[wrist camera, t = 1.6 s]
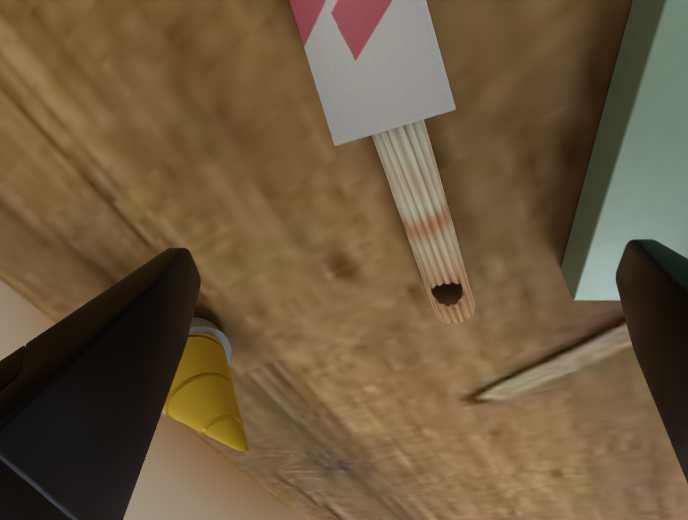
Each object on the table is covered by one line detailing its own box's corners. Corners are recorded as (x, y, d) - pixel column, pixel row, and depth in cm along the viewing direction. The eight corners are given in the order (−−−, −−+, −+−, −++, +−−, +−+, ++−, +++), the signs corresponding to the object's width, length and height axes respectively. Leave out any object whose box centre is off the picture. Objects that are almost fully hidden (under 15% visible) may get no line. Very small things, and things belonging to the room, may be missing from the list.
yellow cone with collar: (138, 280, 24) (234, 393, 18) (216, 306, 28) (317, 405, 22) (85, 367, 24) (162, 511, 18) (171, 380, 28) (258, 501, 22)
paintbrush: (341, -447, 7) (500, 326, 20) (352, -387, 9) (490, 281, 22) (143, -313, 8) (412, 340, 21) (191, -285, 10) (410, 295, 23)
